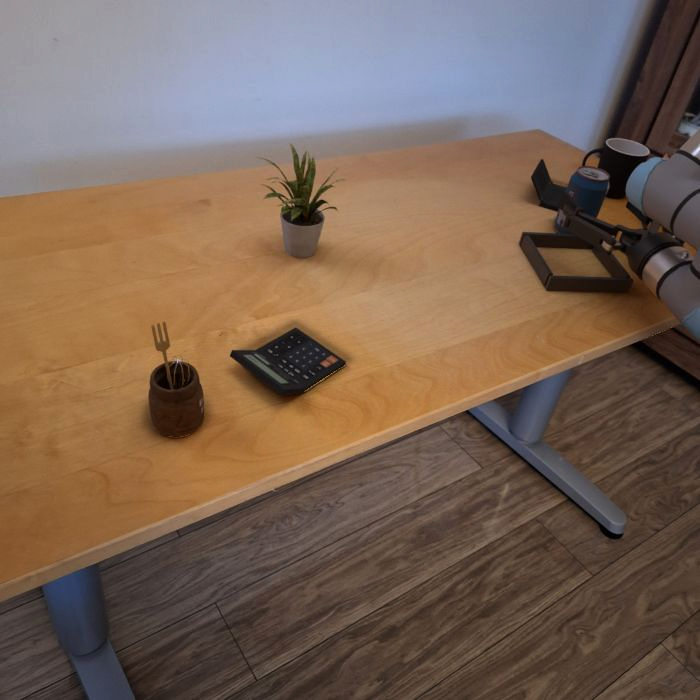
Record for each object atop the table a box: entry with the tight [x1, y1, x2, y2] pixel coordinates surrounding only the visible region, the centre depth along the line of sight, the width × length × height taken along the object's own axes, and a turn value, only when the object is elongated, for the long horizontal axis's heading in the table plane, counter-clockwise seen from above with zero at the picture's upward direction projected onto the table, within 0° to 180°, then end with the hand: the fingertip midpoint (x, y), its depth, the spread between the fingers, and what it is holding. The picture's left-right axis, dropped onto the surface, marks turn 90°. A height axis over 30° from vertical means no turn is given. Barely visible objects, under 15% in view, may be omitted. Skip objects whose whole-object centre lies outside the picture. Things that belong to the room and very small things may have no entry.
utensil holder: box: [147, 320, 205, 438], centre depth 67 cm, size 6×6×12 cm
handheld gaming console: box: [530, 158, 567, 212], centre depth 127 cm, size 12×7×10 cm
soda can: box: [554, 165, 610, 234], centre depth 114 cm, size 7×7×12 cm
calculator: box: [229, 327, 347, 397], centre depth 79 cm, size 9×12×3 cm
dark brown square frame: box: [518, 231, 635, 294], centre depth 107 cm, size 15×15×2 cm
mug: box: [581, 137, 651, 199], centre depth 131 cm, size 12×9×10 cm
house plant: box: [256, 143, 348, 259], centre depth 97 cm, size 14×14×16 cm
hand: (596, 199), depth 110 cm, fingers open, 13 cm apart
